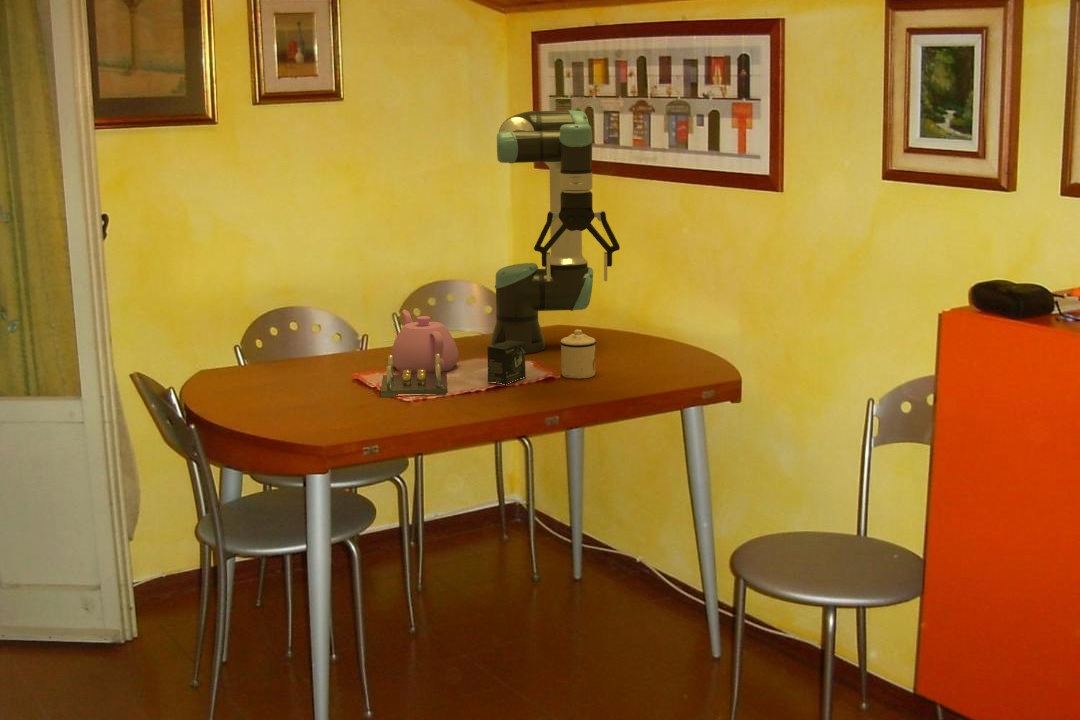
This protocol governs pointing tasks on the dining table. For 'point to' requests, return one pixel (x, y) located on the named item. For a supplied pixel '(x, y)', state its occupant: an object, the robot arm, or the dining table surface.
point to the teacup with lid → (578, 356)
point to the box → (506, 362)
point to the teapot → (423, 346)
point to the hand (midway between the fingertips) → (577, 280)
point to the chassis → (413, 381)
